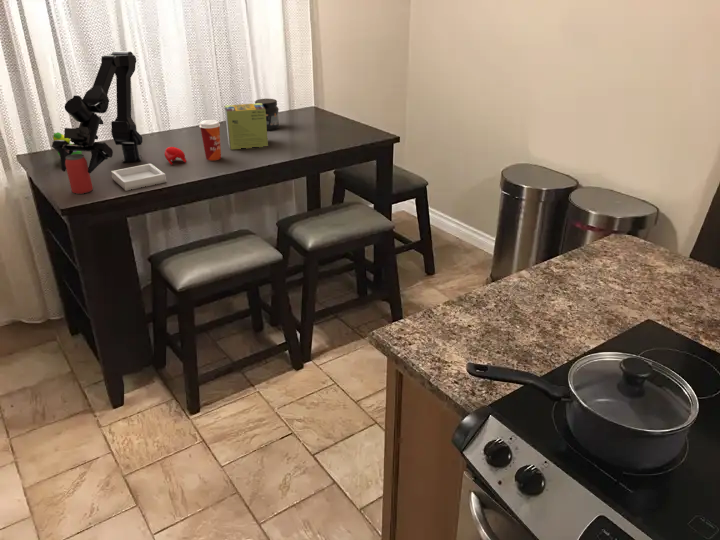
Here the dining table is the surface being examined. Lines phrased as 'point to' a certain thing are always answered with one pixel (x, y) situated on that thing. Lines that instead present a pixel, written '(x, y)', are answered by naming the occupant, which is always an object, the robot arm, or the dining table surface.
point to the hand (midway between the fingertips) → (76, 171)
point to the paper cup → (211, 139)
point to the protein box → (246, 125)
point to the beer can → (78, 174)
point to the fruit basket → (61, 137)
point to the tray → (138, 176)
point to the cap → (174, 154)
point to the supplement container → (270, 113)
